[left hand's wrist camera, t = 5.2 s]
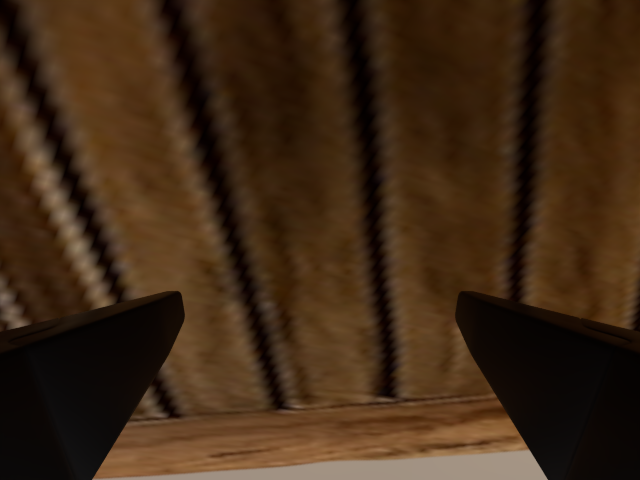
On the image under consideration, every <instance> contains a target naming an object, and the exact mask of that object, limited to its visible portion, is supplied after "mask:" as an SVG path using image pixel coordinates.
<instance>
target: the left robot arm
mask: <svg viewBox="0 0 640 480" xmlns="http://www.w3.org/2000/svg"><path fill="white" fill-rule="evenodd" d="M184 318H185V312H184V306H183V300H182V295H181V293H180V292H179V291H166V292H162V293H158V294H154V295H150V296H146V297H142V298H138V299H134V300H130V301H126V302H122V303H118V304H114V305H110V306H106V307H102V308H98V309H94V310H90V311H86V312H82V313H78V314H74V315H70V316H66V317H62V318H60V319H59V318H57V319H52V320H48V321H44V322H40V323H36V324H32V325H28V326H24V327H19V328H15V329H11V330H6V331H2V332H0V480H92V479H93V477H94V476H95V474H96V472H97V471H98V469H99V467H100V466H101V464H102V463H103V461H104V459H105V458H106V456H107V454H108V453H109V451H110V450H111V448H112V446H113V445H114V443H115V441H116V440H117V438H118V437H119V435H120V433H121V432H122V430H123V428H124V427H125V425H126V424H127V422H128V420H129V419H130V417H131V415H132V414H133V412H134V411H135V409H136V407H137V406H138V404H139V402H140V401H141V399H142V397H143V396H144V394H145V393H146V391H147V389H148V388H149V386H150V384H151V383H152V381H153V380H154V378H155V376H156V375H157V373H158V371H159V370H160V368H161V367H162V365H163V363H164V362H165V360H166V358H167V357H168V355H169V353H170V351H171V349H172V347H173V344H174V342H175V340H176V338H177V336H178V333H179V331H180V329H181V327H182V324H183V322H184ZM455 318H456V322H457V324H458V327H459V329H460V331H461V333H462V336H463V338H464V340H465V342H466V344H467V347H468V349H469V351H470V353H471V355H472V357H473V358H474V360H475V362H476V363H477V365H478V367H479V368H480V370H481V371H482V373H483V375H484V376H485V378H486V380H487V381H488V383H489V384H490V386H491V388H492V389H493V391H494V393H495V394H496V396H497V397H498V399H499V401H500V402H501V404H502V406H503V407H504V409H505V410H506V412H507V414H508V415H509V417H510V419H511V420H512V422H513V424H514V425H515V427H516V428H517V430H518V432H519V433H520V435H521V437H522V438H523V440H524V441H525V443H526V445H527V446H528V448H529V450H530V451H531V453H532V454H533V456H534V458H535V459H536V461H537V463H538V464H539V466H540V467H541V469H542V471H543V472H544V474H545V476H546V477H547V479H548V480H640V332H638V331H634V330H629V329H625V328H621V327H616V326H612V325H608V324H604V323H600V322H596V321H592V320H588V319H583V318H581V319H580V318H578V317H574V316H570V315H566V314H562V313H558V312H554V311H550V310H546V309H542V308H538V307H534V306H530V305H526V304H522V303H518V302H514V301H510V300H506V299H502V298H498V297H494V296H490V295H486V294H482V293H478V292H474V291H461V292H460V293H459V295H458V300H457V306H456V312H455Z"/></svg>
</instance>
